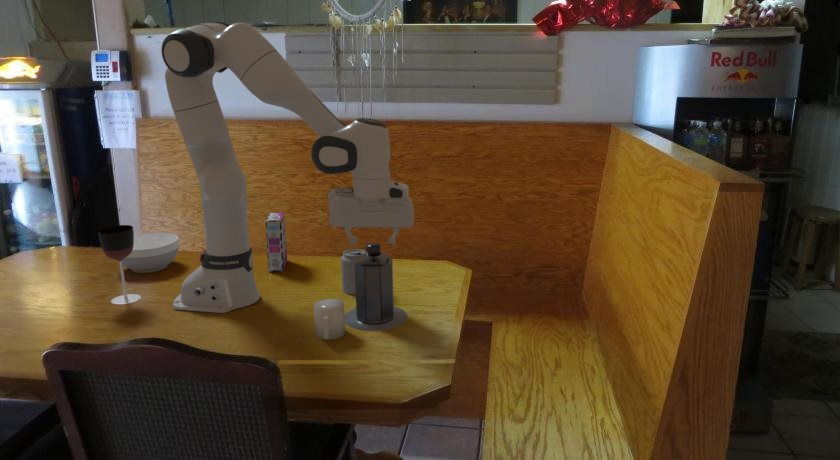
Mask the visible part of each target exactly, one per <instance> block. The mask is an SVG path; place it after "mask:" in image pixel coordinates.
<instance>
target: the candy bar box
mask: <svg viewBox="0 0 840 460" xmlns="http://www.w3.org/2000/svg"><path fill="white" fill-rule="evenodd" d="M285 214H286V213H285V212H270V213H269V214H268V216H267V217H266V219H265V234H266V235H265V236H266V249H267V262H268V263H267V264H268V267H267V268H268V272H270V273H277V272H278V273H281V272H284V271H285V269H286V265H287V262H288V251H287V250H288V248H287V233H286V217H285Z"/></svg>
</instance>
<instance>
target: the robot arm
mask: <svg viewBox="0 0 840 460" xmlns="http://www.w3.org/2000/svg"><path fill="white" fill-rule="evenodd" d="M160 53H161V57H162V60H163V63H164V64H165V66H166V67H167V68H166V70H165V71H164V79H165V85H166V90H167V95H168V99H169V102H170V104H171V109H172V112H173V115H174V117H175V121H176V123H177V125H178V127H179V131H180V133H181V136H182V139H183V142H184V144H185V146H186V147H185V148H186V149H187V150H186V151H188V154H189V157H190V159H191V163H192V166H193V169H194V172H195V173H196V176H197V179H198V180H197V181H198V183H199V187H200V195H201V206H202V217H203V229H204V237H205V249H203V251H202V253H201V254H200V255H199V257H198V262H199V263H200V264H201V265H199V266H198V267H197V268H196V269H194V270H193V271H192V272H191V273H190V274H189V275H188V276H187V277H186V278H185V279H184V280H183V282H182V285H181V290H180V293H179V294H178V295H177V296H176V297H175V299H174V300H173V303H172V307H173V309H174V310H176V311H179V310H180V311H192V312H201V313H202V312H206V313H215V314H216V313H218V314H219V313H220V314H225V313H229V312H230V311H233V310H237V309H240V308H243V307H244V308H245V307H247V306H250V305H253V304H255V303H256V302H257V301H259V300H260V298H261V294H260V292H259V290H258V289H259V288H258V286H257V283H256V280H255V275H254V270H253V268H254V256H253V252H252V247H251V246H250V236H249V235H250V234H249V223H248V194H247V179H246V176H245V174H244V172H243V170H242V169H241V166H240V164H239V162H238V157H237V155H236V151H235V148H234V145H233V143H232V139H231V135H230V131H229V129H228V125H227V123H226V120H225V116H224V114H223V111H222V108H221V104H220V102H219V100H218V99H219V98H218V96H217V94H216V90H215V88H214V87H215V86H214V84H213V83H214V82H213V81H214V76H215V74H216V73H220V74H222V73H223V72H225V71H227V70H230V71H231V72H232V73H233V74H234V75H235V77H236V78H237V79H238V80H239V81H240V82H241V84H242V85H243V86H244V87H245V88H246V89H247V91H249V92H250V93H251V94H252V95H254V96H255V98H257V99H258V100H260V101H261V102H262V103H264V104H266V105H270V106H275V107H279V108H283V109H285V110H288V111H290V112H293V113H294V114H296V115H297V116H298V117H300V119H302V120H303V122H305V123H306V124H307V125H308V127H310V129H311V130H313V132H314V133H315V134H316V135H318V138H317V139H316V140H315V141H314V142H313V144H312V147H311V151H310V156H311V157H310V158H311V161H312V163H313V164H314V166H315V168H316V169H317V170H318V171H320V172H321V173H324V174H326V175H338V174H343V173H349V172H350V173H352V187H344V188H340V187H335V188H333V189H331V190H330V191H329V192H328V194H327V202H328V205H329V206H330V209H329V225H331V226H332V228H344V233H345V234H346V235H347V237H348V240H349V245H350V246H355V245H356V244H357V236H355V235H353V233H352V232H351V230H352V228H386V229H387V228H393V234H392V235H391V236H388V246H395V245H396V238H397V236H398V235H399V232H400V228H401V229H402V228H407V229H411V228H412V227H413V226H414V225H415V215H414V214H415V212H414V205H413V201H412V198H411V197H410V195H409V194H410V188H409V186H408V185H407V184H405V183H402V182H398V181H394V179H393V180H392V179H391V171H390V169H389V167H390V166H389V164H390V161H391V160H390V159H391V143H390V134H389V129H388V127H387V125H386V124H385V123H384V122H382V121H379V120H377V119H373V118H368V117H367V118H365V117H360V118H356V119H354V120H353V122H351V123H349V124H348V125H347V124H345V123H343V122H342V121H341V120H339V118H337V117H336V115H335V114H334V113H333V111H331V110H330V109H329V108H328V107H327V106H326V105H325V104H324V103H323V101H321V100H320V98H318V97H317V96H316V94H315V93H314V92H312V91H311V90H310V89H309V87H308V86H307V85H306V83H305V82H304V81H303V80H302V79H301V77H299V76H298V74H297V73H296V72H295V70H294V69H293V68H292V66H291V65H290V64H289V63H288V62H287V60H286V59H285V58H284V57H283V56H282V54H281V53H280V52H279V51H278V50H277V49H276V48H275V46H273V45H272V44H271V42H270V41H268V39H267V38H265V37H264V36H263V34H261V33H260V32H259V31H258V30H256V29H255V28H254V27H252V26H251V25H250V24H248V23H245V22H235V23H232V24H230V23H227V22H222V21H215V22H206V23H198V24H195V25H193V26H189V27H185V28H181V29H180V28H179V29H177V30H175V31H172V32H170V33H169V34H167V36H166V37H165V38H163V41H162V44H161V52H160Z"/></svg>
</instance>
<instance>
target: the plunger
mask: <svg viewBox="0 0 840 460" xmlns="http://www.w3.org/2000/svg"><path fill="white" fill-rule="evenodd" d="M381 247H382V245H381V243H379V242H369V243H366V244H365V252H366V253H365V254H366V255H367V256H370V257H372V259H376V256H380V255H381V254H382V248H381ZM372 266H376V265H372Z"/></svg>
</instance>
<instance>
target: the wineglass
mask: <svg viewBox="0 0 840 460" xmlns="http://www.w3.org/2000/svg"><path fill="white" fill-rule="evenodd" d="M97 233H98V238H99V242H100V246H101V249H102V252H103V253H104V255H105V256H106V257H107V258H109V259H111V260H116V261H118V265H119V271H120V272H119V273H120V279H121V285H122V291H123V294H122V295H119V296H115V297H114V298H112V299H111V300H110V303H111V304H114V305H127V304H132V303H135V302H138V301H139V300H141V298H142V296H141V295H140V294H135V293H127V292H128V291H127V287H126V280H125V272H124V265H123V264H122V260H123V259H124V258H126V257H127V256H128V255H130V253H131V252H132V250H133V244H134V235H135V234H134V227H133V225H131V224H130V225H129V224H119V225H118V224H117V225H111V226H107V227H103V228H100V229H99V230H98V231H97Z"/></svg>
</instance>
